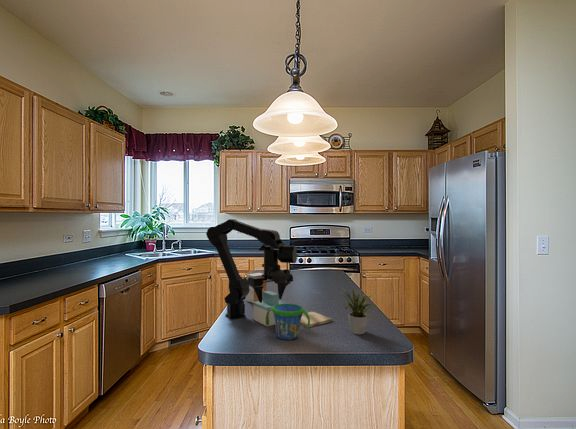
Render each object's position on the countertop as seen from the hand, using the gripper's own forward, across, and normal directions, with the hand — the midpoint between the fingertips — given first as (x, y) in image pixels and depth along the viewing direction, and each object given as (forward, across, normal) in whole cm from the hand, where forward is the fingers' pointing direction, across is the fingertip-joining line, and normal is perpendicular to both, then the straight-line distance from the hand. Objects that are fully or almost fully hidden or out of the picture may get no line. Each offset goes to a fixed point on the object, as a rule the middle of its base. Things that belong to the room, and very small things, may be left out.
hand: (270, 300), depth 132 cm
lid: (+3, 0, 0) cm, 3 cm away
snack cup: (+8, -5, -18) cm, 20 cm away
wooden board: (+8, +13, -9) cm, 18 cm away
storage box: (+8, 0, 0) cm, 8 cm away
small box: (+8, +11, +30) cm, 33 cm away
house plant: (+8, +18, -28) cm, 34 cm away
